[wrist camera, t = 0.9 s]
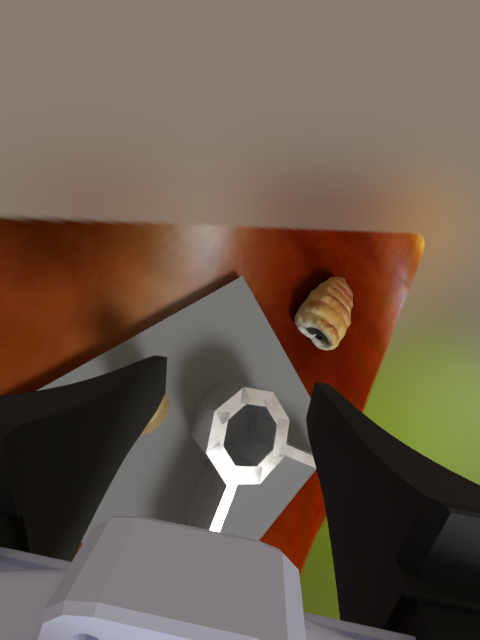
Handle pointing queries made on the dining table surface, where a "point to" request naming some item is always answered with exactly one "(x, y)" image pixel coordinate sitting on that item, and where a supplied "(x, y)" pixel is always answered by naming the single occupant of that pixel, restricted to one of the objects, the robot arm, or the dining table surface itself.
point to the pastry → (326, 313)
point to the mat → (183, 391)
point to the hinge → (236, 449)
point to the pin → (158, 415)
